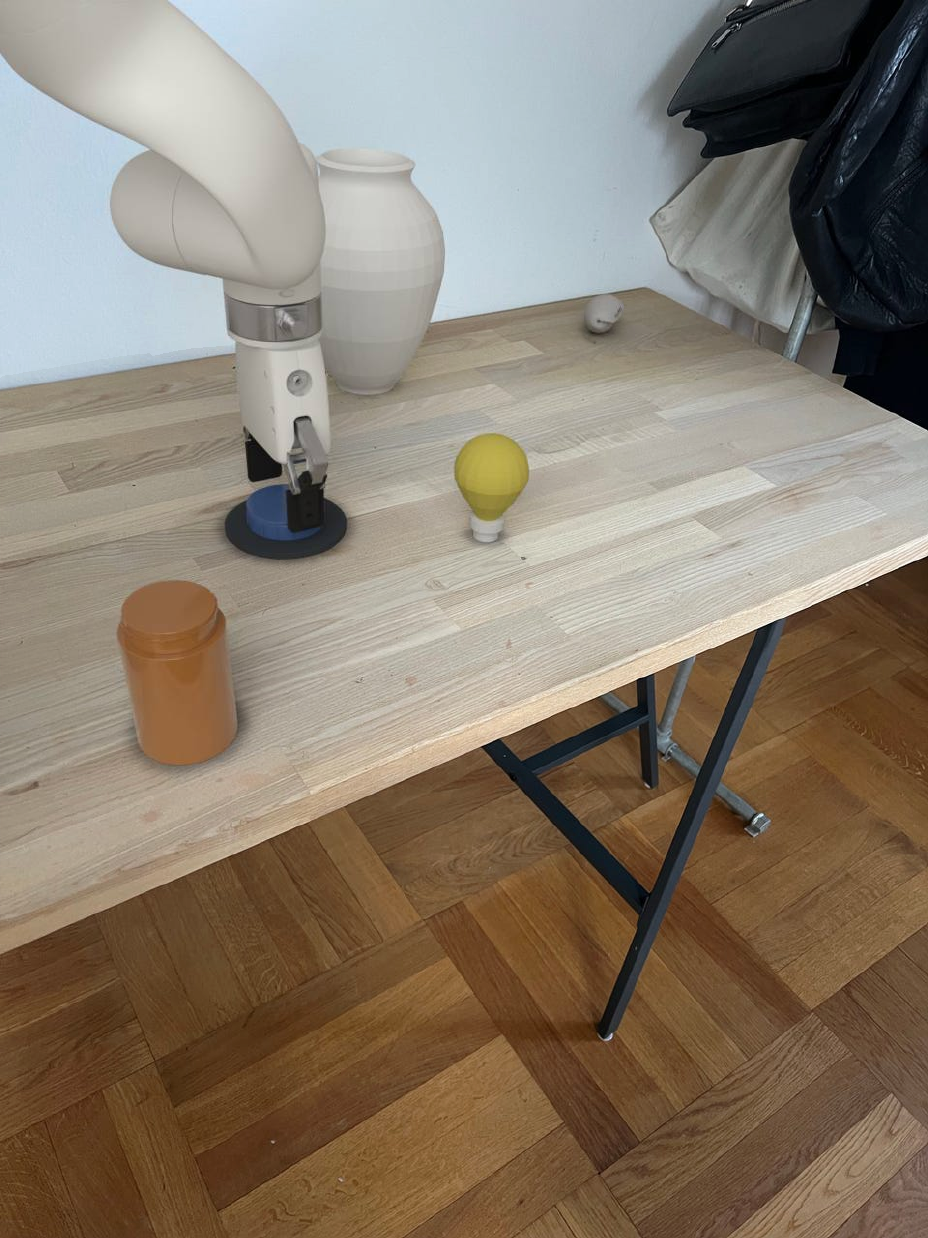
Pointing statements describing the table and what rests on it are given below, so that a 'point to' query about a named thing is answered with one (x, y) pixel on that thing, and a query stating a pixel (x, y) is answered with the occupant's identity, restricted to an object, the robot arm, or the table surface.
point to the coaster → (288, 549)
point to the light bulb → (490, 481)
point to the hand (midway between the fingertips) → (285, 502)
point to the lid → (272, 514)
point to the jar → (178, 672)
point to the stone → (602, 313)
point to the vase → (375, 267)
